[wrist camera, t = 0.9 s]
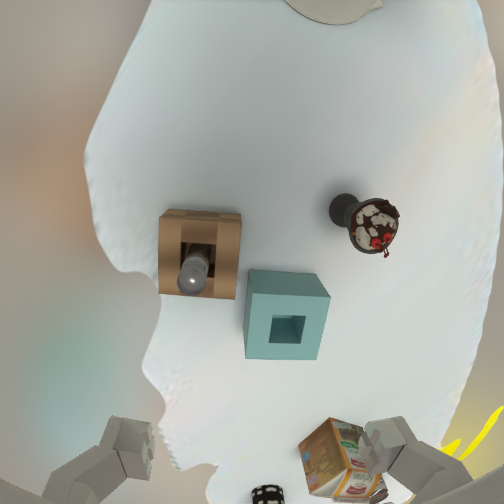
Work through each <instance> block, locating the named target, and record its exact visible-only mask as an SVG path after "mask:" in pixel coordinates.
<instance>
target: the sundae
mask: <svg viewBox="0 0 504 504" xmlns="http://www.w3.org/2000/svg"><path fill="white" fill-rule="evenodd" d="M329 213H330V217H331V219H332V221H333V222H334V223H335V224H336V225H338V226H340V227H347V228H348V231H349V236H350V240H351V242H352V244H353V245H354V247H355V248H356V249H357V250H359V251H361V252H363V253H367V254H376V253H381V252H383V251H384V253H385V249H386V250H387V247H388V246H389V245H390V244H391V242H392V240H393V239H394V237H395V235H396V233H397V229H398V224H399V223H398V218H399V217H400V215H399V213H398V211H397V210H396V208H395V206H392V205H391V204H390V203H389V201H388V200H384V199H380V198H373V199H369V200H366V201H364V202H359V201H358V200H357V198H356V197H354V196H353V195H351V194H341V195H338V196H337V197H336V198H335V199H334V200H333V201H332V203H331V205H330V210H329ZM388 255H389V252H388V250H387V254H386V253H385V255H384V258H386V257H387V256H388Z"/></svg>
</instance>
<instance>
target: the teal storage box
mask: <svg viewBox="0 0 504 504" xmlns="http://www.w3.org/2000/svg"><path fill="white" fill-rule="evenodd" d="M330 299H331V297H330V295H329V294H328V292H327V291H326V289H325V288H324V286H323V285H322V283H321V282H320V280H319V279H318V277H317V276H316V274H306V273H290V272H275V271H260V270H249V277H248V287H247V297H246V306H245V316H244V326H243V332H244V345H245V359H267V360H316V358H317V354H318V350H319V346H320V342H321V338H322V334H323V330H324V325H325V321H326V317H327V312H328V308H329V303H330Z"/></svg>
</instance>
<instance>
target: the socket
mask: <svg viewBox="0 0 504 504" xmlns="http://www.w3.org/2000/svg"><path fill="white" fill-rule="evenodd" d="M241 226H242V223H241V215H240V214H230V213H217V212H204V211H189V210H174V209H168V210H167V211H166V212H165V213H164V214H163V215H162V216H161V217H159V243H158V279H159V294H170V295H181V296H188V295H185V294H183V293H182V292H181V291H180V290H179V289H178V286H177V277H178V275H179V273H180V270H181V268H182V265H183V263H184V261H185V258H186V256H187V253H188V251H189V249H190V246H191V244H192V243H202V244H211V245H212V253H211V258H210V263H209V268H208V274H207V279H206V284H205V288H204V290H203V291H202V292H201V293H200V294H199V295H196V296H193V297H205V298H219V299H233V300H235V293H236V281H237V270H238V258H239V247H240V236H241Z"/></svg>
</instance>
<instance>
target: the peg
mask: <svg viewBox="0 0 504 504" xmlns="http://www.w3.org/2000/svg"><path fill="white" fill-rule="evenodd" d="M211 253H212V245H211V244H202V243H192V244H191V246H190V249H189V251H188V253H187V256H186V258H185V261H184V263H183V265H182V268H181V270H180V273H179V275H178V277H177V286H178V289H179V290H180V291H181V292H182V293H183V294H185V295H188V296H196V295H199V294H200V293H201V292H202V291H203V290H204V288H205V284H206V279H207V274H208V268H209V263H210V258H211Z"/></svg>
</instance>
